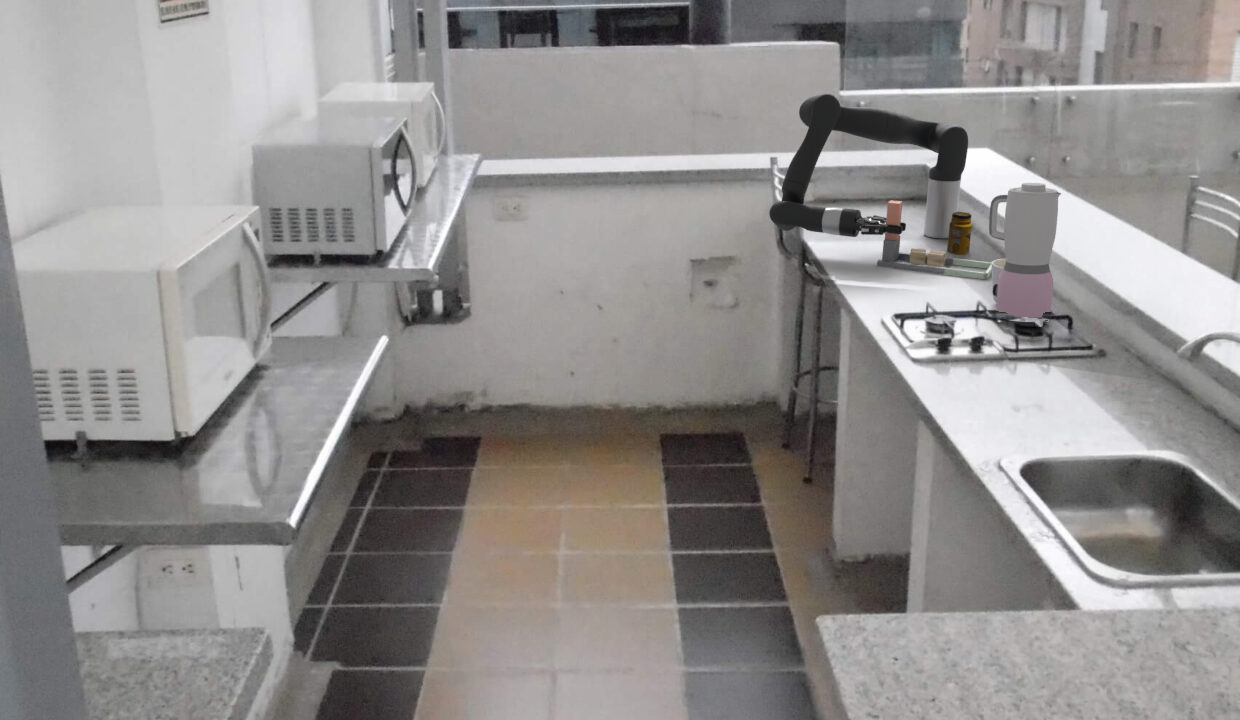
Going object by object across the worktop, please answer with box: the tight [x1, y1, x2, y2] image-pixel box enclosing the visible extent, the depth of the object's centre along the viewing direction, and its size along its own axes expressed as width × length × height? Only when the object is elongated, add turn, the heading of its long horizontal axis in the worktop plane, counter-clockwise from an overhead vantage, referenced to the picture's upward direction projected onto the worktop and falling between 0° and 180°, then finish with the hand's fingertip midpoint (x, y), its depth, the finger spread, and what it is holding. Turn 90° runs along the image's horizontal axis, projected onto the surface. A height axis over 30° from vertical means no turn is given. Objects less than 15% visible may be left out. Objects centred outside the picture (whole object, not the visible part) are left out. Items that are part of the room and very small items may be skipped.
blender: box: [988, 182, 1062, 321], centre depth 273 cm, size 16×12×32 cm
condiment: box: [946, 211, 973, 255], centre depth 333 cm, size 7×8×12 cm
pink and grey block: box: [881, 199, 903, 261], centre depth 321 cm, size 6×3×16 cm, turn 154°
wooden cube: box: [909, 248, 927, 265], centre depth 321 cm, size 4×4×4 cm
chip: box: [927, 250, 947, 267], centre depth 318 cm, size 4×4×4 cm
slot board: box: [876, 251, 955, 275], centre depth 321 cm, size 12×18×2 cm, turn 64°
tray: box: [943, 257, 993, 280], centre depth 315 cm, size 12×11×2 cm
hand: (903, 228), depth 320 cm, fingers closed on pink and grey block, 3 cm apart
